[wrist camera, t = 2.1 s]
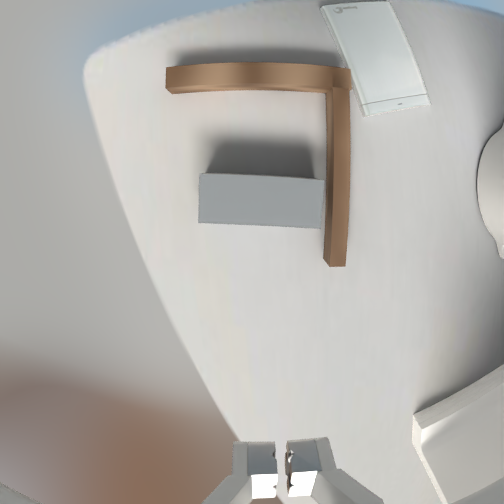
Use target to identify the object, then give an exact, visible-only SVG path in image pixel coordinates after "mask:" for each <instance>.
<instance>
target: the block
mask: <svg viewBox="0 0 504 504" xmlns="http://www.w3.org/2000/svg"><path fill="white" fill-rule="evenodd" d="M412 444H413V446H414V448H415V449H416V451H417V453H418V455H419V457H420V459H421V461H422V463H423V465H424V467H425V469H426V471H427V473H428V475H429V477H430V480H431V482H432V484H433V486H434V488H435V490H436V492H437V494H438V496H439V498H440V500H441V503H442V504H451V503H454V502H456V501H458V500H460V499H462V498H465V497H467V496H469V495H471V494H473V493H475V492H477V491H479V490H481V489H483V488H485V487H486V486H488V485H490V484H492V483H494V482H496V481H497V480H499V479H501V478H503V477H504V364H503V365H501V366H500V367H498V368H497V369H495V370H494V371H492V372H490V373H489V374H487V375H486V376H484V377H482V378H481V379H479V380H478V381H476V382H474V383H473V384H471V385H469V386H467V387H466V388H464V389H462V390H460V391H459V392H457V393H455V394H453V395H451V396H449V397H448V398H446V399H444V400H442V401H440V402H438V403H436V404H434V405H432V406H430V407H428V408H426V409H424V410H422V411H420V412H417V413H415V414H413V428H412Z"/></svg>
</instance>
